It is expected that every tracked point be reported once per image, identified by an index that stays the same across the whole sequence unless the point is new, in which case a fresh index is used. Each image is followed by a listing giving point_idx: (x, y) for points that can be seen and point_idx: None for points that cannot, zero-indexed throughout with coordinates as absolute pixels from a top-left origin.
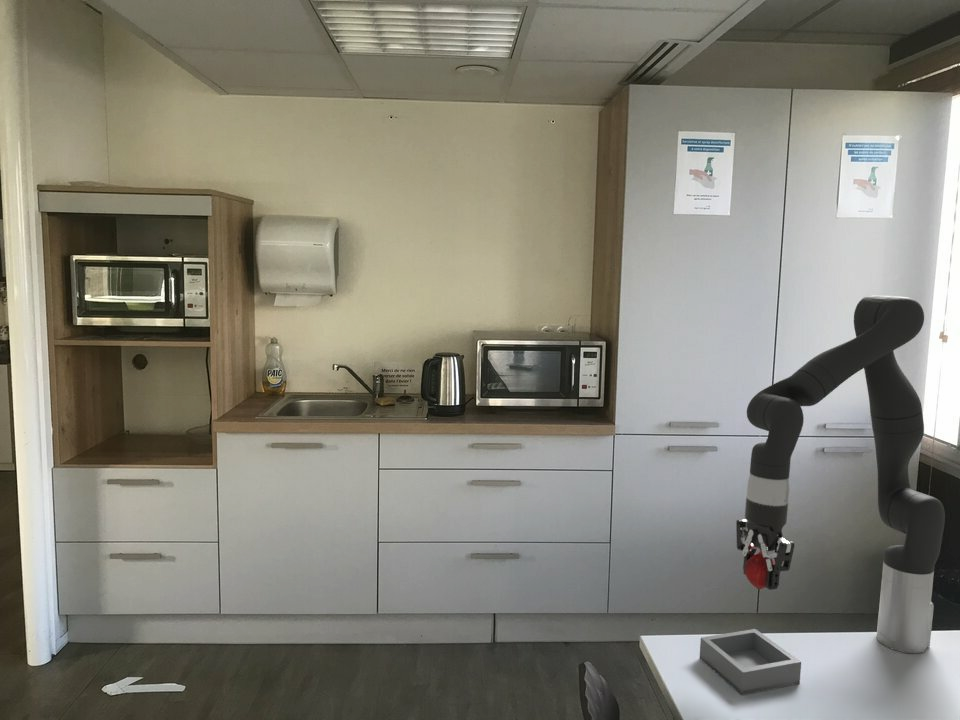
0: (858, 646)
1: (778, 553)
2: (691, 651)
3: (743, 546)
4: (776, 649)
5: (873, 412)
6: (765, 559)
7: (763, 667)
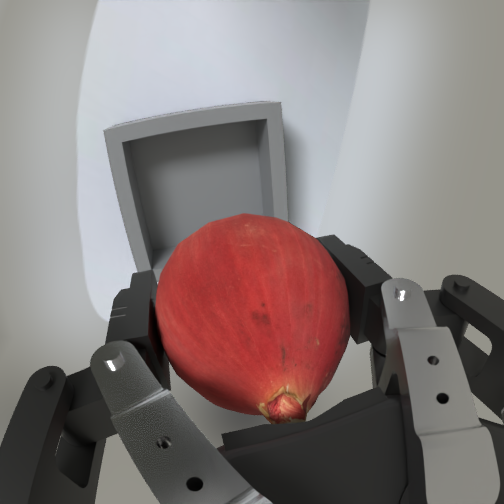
0: None
1: (497, 405)
2: (117, 264)
3: (105, 437)
4: (210, 124)
5: None
6: (333, 375)
7: (283, 205)
